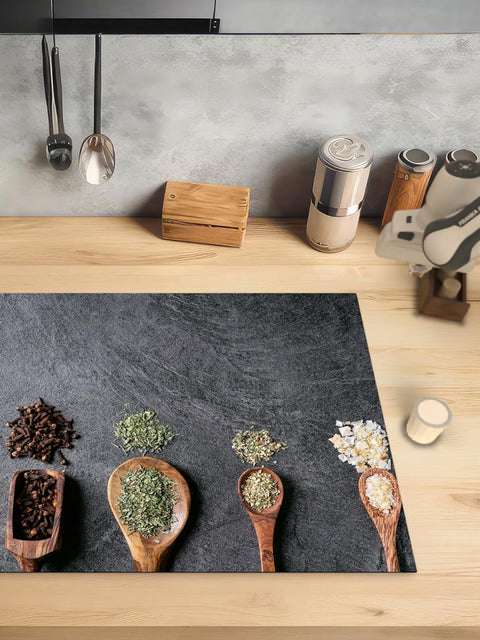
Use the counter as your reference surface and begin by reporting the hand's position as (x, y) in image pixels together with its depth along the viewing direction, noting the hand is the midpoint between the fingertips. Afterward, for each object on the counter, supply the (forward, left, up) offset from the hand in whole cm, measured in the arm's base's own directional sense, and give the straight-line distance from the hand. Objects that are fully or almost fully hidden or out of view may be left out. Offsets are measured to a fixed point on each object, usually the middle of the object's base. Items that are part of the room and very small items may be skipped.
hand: (415, 274), depth 161 cm
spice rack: (-6, -3, -4) cm, 8 cm away
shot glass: (-22, +31, -4) cm, 38 cm away
